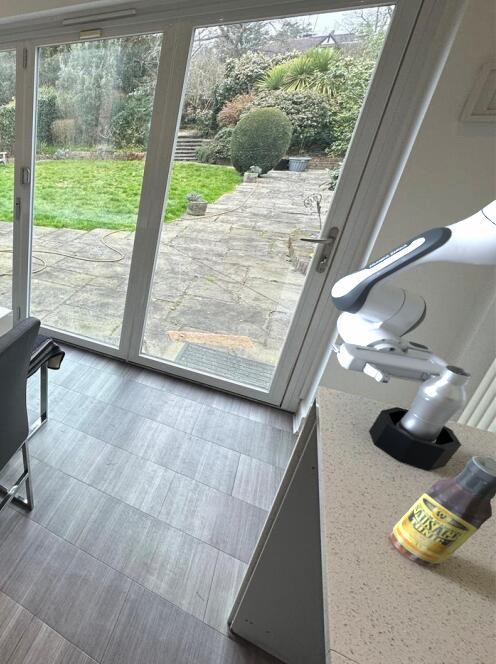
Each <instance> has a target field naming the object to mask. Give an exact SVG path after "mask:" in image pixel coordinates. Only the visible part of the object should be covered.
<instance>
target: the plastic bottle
mask: <svg viewBox="0 0 496 664" xmlns="http://www.w3.org/2000/svg"><path fill="white" fill-rule="evenodd" d="M472 377H473V374H472V372H471V371H469V370H467V369H465V368H463V367H460V366H457V365H453V364H449V365H446V366H445V367H444V369H443V370H442V371H441V372H440V376H439V377H435V378H432V379H429V380H426V381H425V382H424V383H420V386H419V388H418V389H417V393H416V395H415V398H414V400H413V401H412V404H411V405H410V407H409V409H408V410H409V411H408V412H407V413H406V414H405V416H404V417H403V418H402V419H401V420H400V421H399V422H398V423H397V424H396V425H395V426H397V427H399V428H400V429H402V430H403V431H405V432H407V433H408V434H410V435H411V436H413V437H415V438H418V439H421V440H425V441H428V442H431V443H435V442H436V439H437V437H438V435H439V433H440V431H441V430H442V428H443V426H446V424H447V423H448V422H449V421H450V420H451V419H452V417H453V416H455V415H456V413H459V411H460V410H461V409H462V408H463V407H464V406H465V405H466V404H467V403H468V399H469V397H468V391H467V389H466V387H465V386H466V385H468V384H469V383H470V381H471V379H472Z"/></svg>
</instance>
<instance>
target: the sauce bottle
mask: <svg viewBox="0 0 496 664" xmlns="http://www.w3.org/2000/svg"><path fill="white" fill-rule="evenodd" d="M465 464H466V466H465V467H464V468H463V470H461V471H460V472H459V473H458V474H456V475H455V476H452V477H448V478H442V479H439V480H437V481H435V483H434V484H433V485H432V486H431V487H430V488H429V489H428V490H427V491H425V492H424V493H423V494H422V495H421V496H420V497H419V499H417V501H416V502H414V504H413V505H412V506H411V507H410V509H408V510H407V512H406V513H405V514H404V515H403V516H402V517H401V518H400V519H399V520H398V522H397V523H396V524H395V525H394V526H393V529H392V530H391V531H390V533H389V540H390V541H391V543H392V544H393V546H394V547H395V548H396V550H398V552H400V553H401V554H402V556H405V557H406V558H407V559H409V560H411V561H413V562H415V563H416V564H418V565H420V566H423V567H438V566H440V564H442V563H445V562H446V560H448V558H450V557H451V556H452V555H453V554H454V553H455V552H456V551H457V550H458V549H459V548H460V547H461V546H462V545H464V544H465V543H466V542H467V541H468V540H469V539H470V538H471V537H472V536H473V535H475V533H476V532H477V531H478V530H480V528H481V527H482V525H483V524H485V523H486V522H487V521H488V520H489V519H490V518H491V517H492V516H493V512H492V511H493V509H492V503H491V500H492V499H494V498H495V496H496V460H494V459H492V458H489V457H485V456H480V455H474V456H472V457H471V458H470V459H469V460H468V461H467V462H466V463H465Z"/></svg>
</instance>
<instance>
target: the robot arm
mask: <svg viewBox="0 0 496 664" xmlns="http://www.w3.org/2000/svg"><path fill="white" fill-rule="evenodd" d="M435 263H456V264H468V265H474V266H475V265H476V266H492V265H493V266H494V265H495V266H496V199H495V200H493V201H492V202H490V203H489V204H487V205H486V206H485V207H483V208H482V209H480V210H479V211H477V212H476V213H474V214H473V215H471V216H469V217H467V218H465V219H462V220H460V221H458V222H456V223H455V222H454V223H452V224H449V225H446V226H442V227H441V226H440V227H433V228H431V229H428V230H425V231H424V232H422V233H419V234H418V235H416V236H414V237H412V238H410V239H409V240H408V241H405V242H404V243H402V244H401V245H398V246H396V248H393V250H391V251H389V252H387V253H385V254H384V255H382V256H381V257H379V258H377V259H376V260H373V261H372V262H370V263H369V264H367V265H366V266H363V267H362V268H361V269H357V270H356V271H352V272H350V273H349V274H346V275H344V276H342V277H341V278H339V279H338V280H336V282H335V283H334V284H333V286H332V287H331V290H330V299H331V302H332V304H333V305H334V308H335V309H337V310H338V311H342V312H343V313H341V314H340V315H339V317H337V321H336V327H337V332H338V333H339V335H340V338H341V339H342V340H343V341H344V343H343V342H338V343H333V344H332V345H331V348H332V350H333V351H334V352H335V353H337V354H336V358H337V360H338V362H339V364H340V366H341V367H342V368H343V369H346V370H349V371H353V372H359V373H365V374H366V375H367V376H370V377H372V378H374V379H375V380H376V381H377V382H378V383H384V384H388V383H389V381H390V380H391V378H392V379H398V380H403V381H409V382H415V383H420V384H422V383H424V382H425V381H426V380H429V379H432V378H435V377H439V376H440V372H441V371H442V370H443V369H444V367H445V366H446V365H450V363H449V362H447V361H446V359H444V358H442V357H440V356H439V355H436V354H434V353H435V350H434V349H433V348H431V347H430V346H427V345H424V344H420V343H417V342H414V341H410V340H408V339H405V338H403V337H404V336H405V335H407V334H409V333H411V332H413V331H414V330H416V329H417V328H418V327H420V325H421V324H423V322H424V321H425V318H426V316H427V311H428V310H427V309H428V308H427V303H426V300H425V299H424V298H423V296H421V295H418V294H416V293H414V292H411V291H408V290H406V289H403V288H401V287H397V286H395V285H393V284H390V283H389V282H391V281H392V280H394V279H396V278H398V277H399V276H401V275H404V274H405V273H407V272H409V271H410V270H412V269H414V268H416V267H419V266H421V265H427V264H435Z"/></svg>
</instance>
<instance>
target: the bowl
mask: <svg viewBox="0 0 496 664" xmlns="http://www.w3.org/2000/svg"><path fill="white" fill-rule="evenodd" d="M408 411H409V409H406V408H403V407H399V406H395V407H391V408H385V409H382V410H381V411H380V413H379V414H378V415H377V417H376V419H375V421H374V422H373V423H372V425H371V427H370V428H369V430H368V433H369V435H370V438H371V440H372V443H373V445H374V446H375V447H376V448H378V449H379V450H381V451H382V452H384V453H386V454H387V455H388V456H389V457H391V458H393V459H395V460H396V461H397V462H398V463H401V464H405V465H407V466H410V467H411V466H412V467H414V468H418V469H420V470H424V471H427V472H430V471H434V470H437V469H440V468H444V467H446V465H447V464H448V463H449V462H450V460H452V458H453V456H454V455H455V454H456V452H457V451H458V450H459V449H460V448H461V446H462V443H461V442H460V440H459V438H458V437H457V436H456V434H455V432H454V431H453V429H451V428H449V427H448V426H446V425H444V426H443V428H442V430H441V431H440V433H439V435H438V437H437V439H436V442H435V443H431V442H428V441H425V440H421V439H418V438H415V437H413V436H411V435H410V434H408V433H407V432H405V431H403V430H402V429H400V428H399V427H397V426H395V425H396V424H397V423H398V422H399V421H400V420H401V419H402V418H403V417H404V416H405V414H406V413H407V412H408Z"/></svg>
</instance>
